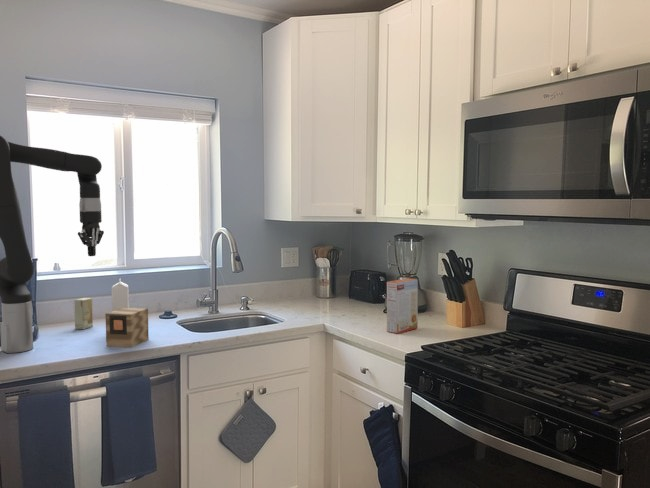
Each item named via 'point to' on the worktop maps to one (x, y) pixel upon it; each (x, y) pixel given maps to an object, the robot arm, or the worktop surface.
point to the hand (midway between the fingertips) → (91, 256)
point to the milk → (120, 296)
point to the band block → (127, 327)
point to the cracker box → (402, 305)
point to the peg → (118, 324)
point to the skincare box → (83, 313)
